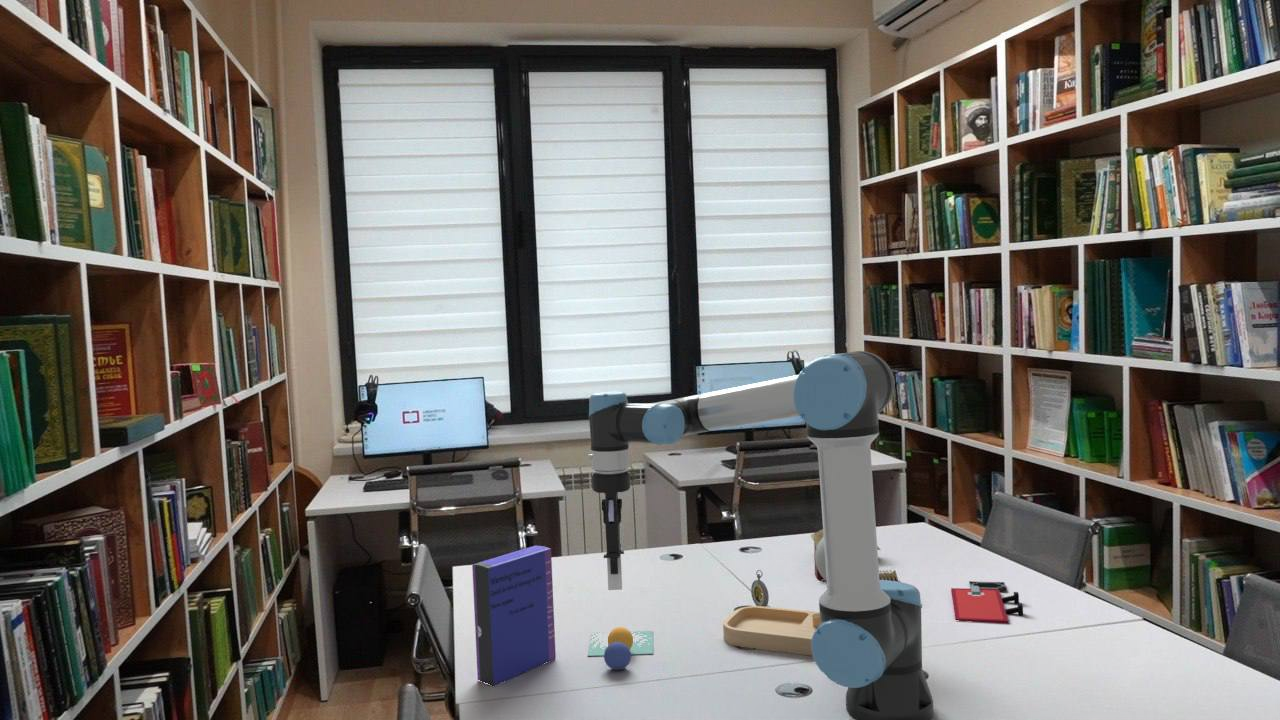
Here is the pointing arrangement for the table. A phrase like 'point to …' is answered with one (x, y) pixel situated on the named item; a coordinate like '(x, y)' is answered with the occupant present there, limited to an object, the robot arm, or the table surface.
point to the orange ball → (621, 636)
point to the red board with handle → (983, 603)
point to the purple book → (513, 614)
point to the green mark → (634, 649)
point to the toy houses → (884, 575)
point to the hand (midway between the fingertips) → (615, 588)
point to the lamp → (775, 623)
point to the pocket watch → (758, 593)
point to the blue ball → (617, 656)
